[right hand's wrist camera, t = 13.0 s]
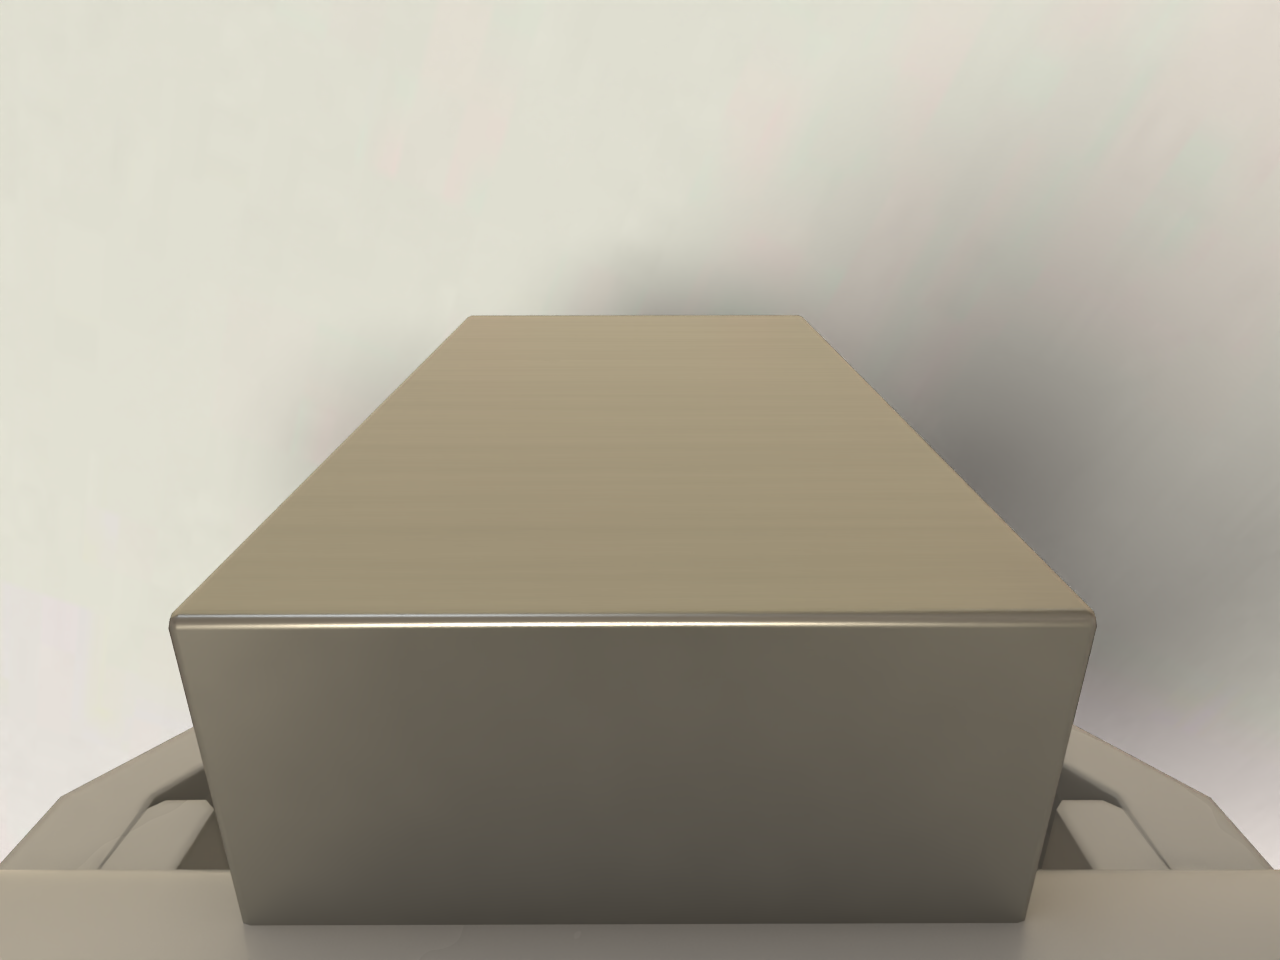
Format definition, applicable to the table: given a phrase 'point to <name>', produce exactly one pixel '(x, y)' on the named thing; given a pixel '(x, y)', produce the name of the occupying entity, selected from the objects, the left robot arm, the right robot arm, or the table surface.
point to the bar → (633, 650)
